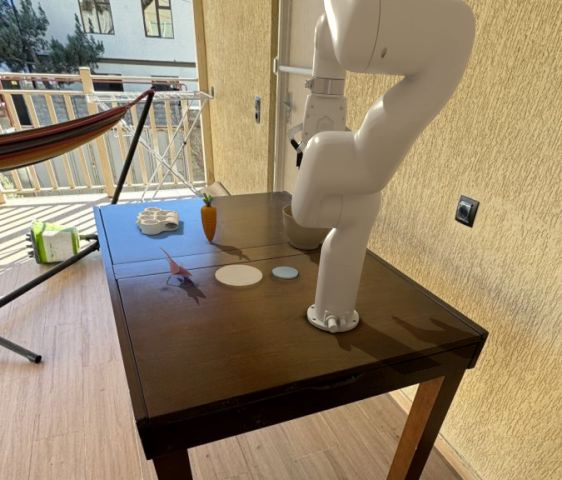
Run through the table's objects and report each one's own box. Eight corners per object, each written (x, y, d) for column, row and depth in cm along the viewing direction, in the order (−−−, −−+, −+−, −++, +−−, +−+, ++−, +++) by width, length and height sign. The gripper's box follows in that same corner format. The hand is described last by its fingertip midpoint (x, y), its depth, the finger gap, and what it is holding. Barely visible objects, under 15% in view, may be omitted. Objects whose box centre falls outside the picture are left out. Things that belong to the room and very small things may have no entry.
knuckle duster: (178, 234, 131) (132, 235, 129) (179, 216, 145) (138, 216, 142) (177, 224, 129) (130, 224, 126) (178, 207, 142) (136, 207, 140)
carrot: (219, 244, 127) (217, 195, 117) (204, 246, 125) (201, 196, 115) (216, 238, 130) (213, 190, 120) (201, 240, 128) (197, 191, 119)
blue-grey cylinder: (298, 283, 109) (298, 278, 108) (272, 282, 108) (272, 276, 107) (297, 272, 114) (297, 266, 113) (272, 270, 114) (272, 265, 113)
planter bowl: (275, 250, 126) (277, 215, 119) (286, 233, 138) (289, 200, 131) (324, 257, 123) (329, 222, 116) (332, 239, 135) (336, 207, 128)
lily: (194, 301, 100) (205, 264, 97) (147, 286, 95) (158, 247, 93) (190, 293, 110) (200, 260, 108) (147, 279, 106) (157, 244, 103)
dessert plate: (261, 290, 104) (261, 286, 103) (212, 288, 104) (212, 284, 103) (262, 269, 114) (263, 265, 113) (218, 267, 114) (217, 263, 113)
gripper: (290, 86, 86) (285, 172, 97) (368, 92, 86) (354, 176, 97) (289, 84, 91) (284, 165, 102) (362, 89, 92) (350, 169, 103)
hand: (318, 171), depth 100 cm, fingers open, 9 cm apart
